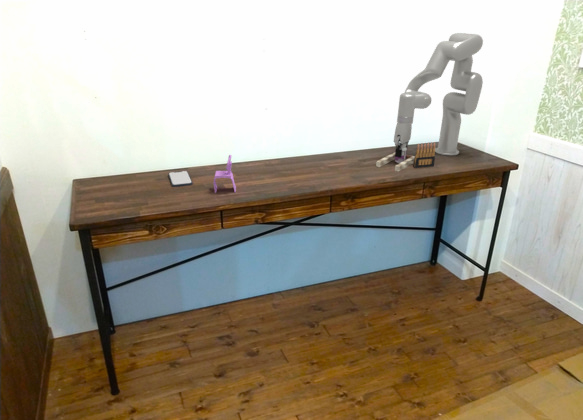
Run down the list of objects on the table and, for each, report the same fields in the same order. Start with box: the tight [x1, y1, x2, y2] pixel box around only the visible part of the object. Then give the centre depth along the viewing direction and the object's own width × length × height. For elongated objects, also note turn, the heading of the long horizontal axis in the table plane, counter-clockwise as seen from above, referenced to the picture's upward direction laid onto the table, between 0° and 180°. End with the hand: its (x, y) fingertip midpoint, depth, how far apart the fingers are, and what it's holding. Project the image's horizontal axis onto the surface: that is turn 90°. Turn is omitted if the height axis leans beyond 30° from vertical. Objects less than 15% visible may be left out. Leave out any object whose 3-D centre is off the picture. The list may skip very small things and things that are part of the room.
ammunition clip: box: [412, 141, 436, 169], centre depth 221 cm, size 11×2×12 cm, turn 107°
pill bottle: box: [394, 142, 408, 164], centre depth 227 cm, size 5×5×10 cm
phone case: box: [168, 170, 193, 188], centre depth 201 cm, size 9×2×16 cm
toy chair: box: [213, 154, 237, 194], centre depth 188 cm, size 8×9×15 cm
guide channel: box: [375, 152, 415, 172], centre depth 225 cm, size 20×12×2 cm, turn 142°
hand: (400, 155), depth 228 cm, fingers closed on pill bottle, 5 cm apart
